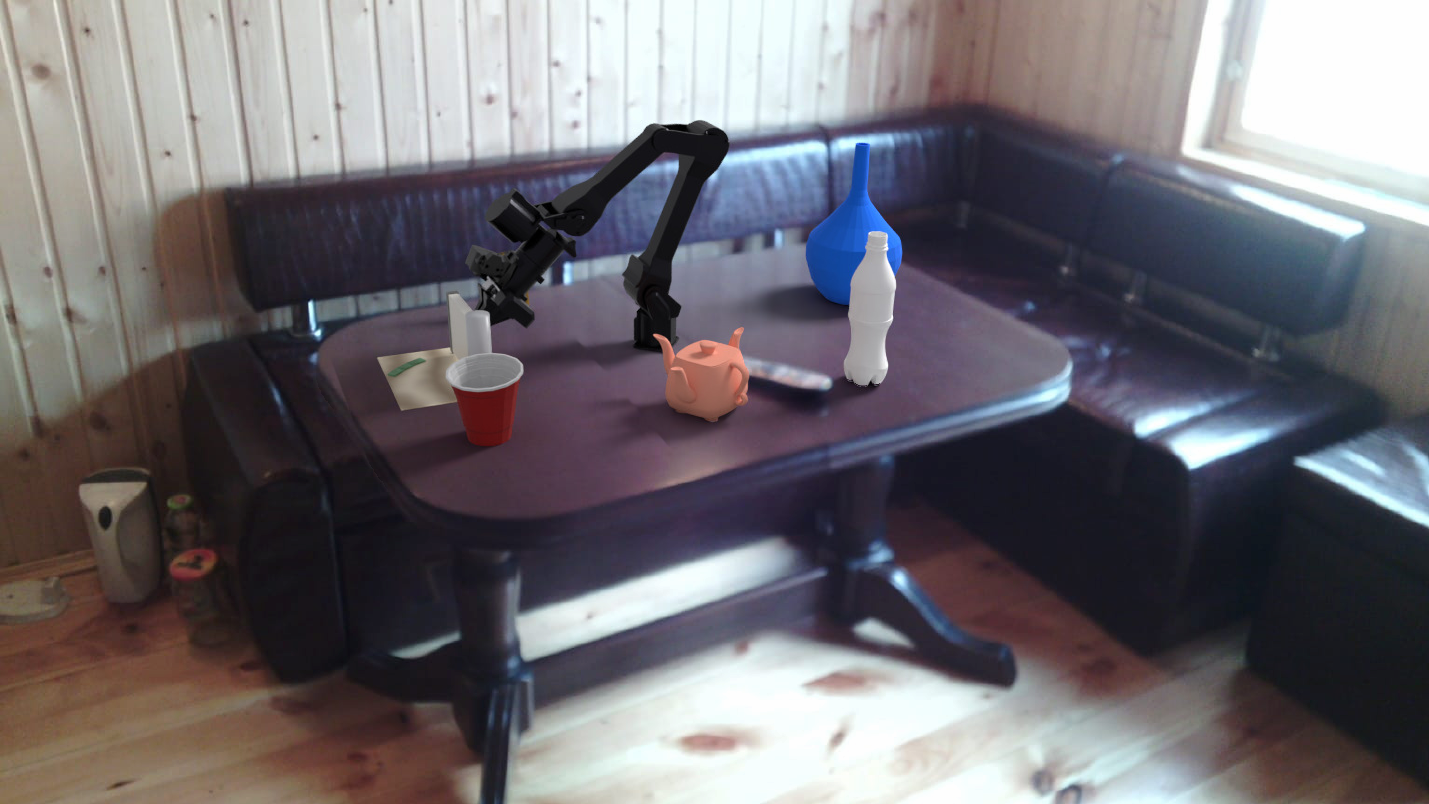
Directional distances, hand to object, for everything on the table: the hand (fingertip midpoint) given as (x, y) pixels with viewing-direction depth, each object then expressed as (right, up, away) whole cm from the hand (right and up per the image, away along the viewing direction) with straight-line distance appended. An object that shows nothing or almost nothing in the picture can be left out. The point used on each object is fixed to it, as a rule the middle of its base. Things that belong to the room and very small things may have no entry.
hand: (468, 332), depth 187 cm
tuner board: (-4, -8, -1) cm, 9 cm away
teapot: (+37, -12, -6) cm, 40 cm away
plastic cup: (+7, -17, -19) cm, 27 cm away
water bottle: (+64, -8, +4) cm, 65 cm away
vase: (+66, +9, +39) cm, 77 cm away
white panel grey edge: (+1, -6, -1) cm, 6 cm away
